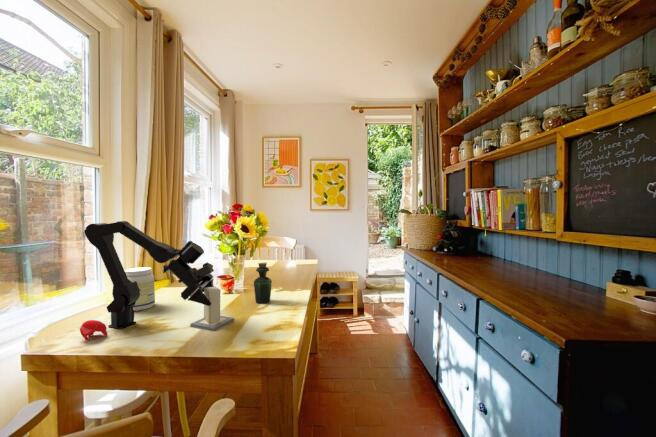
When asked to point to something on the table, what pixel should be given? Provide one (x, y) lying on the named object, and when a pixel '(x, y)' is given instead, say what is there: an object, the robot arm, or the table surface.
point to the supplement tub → (143, 286)
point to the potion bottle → (262, 285)
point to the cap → (92, 328)
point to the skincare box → (212, 305)
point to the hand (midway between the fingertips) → (214, 301)
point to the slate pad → (212, 326)
